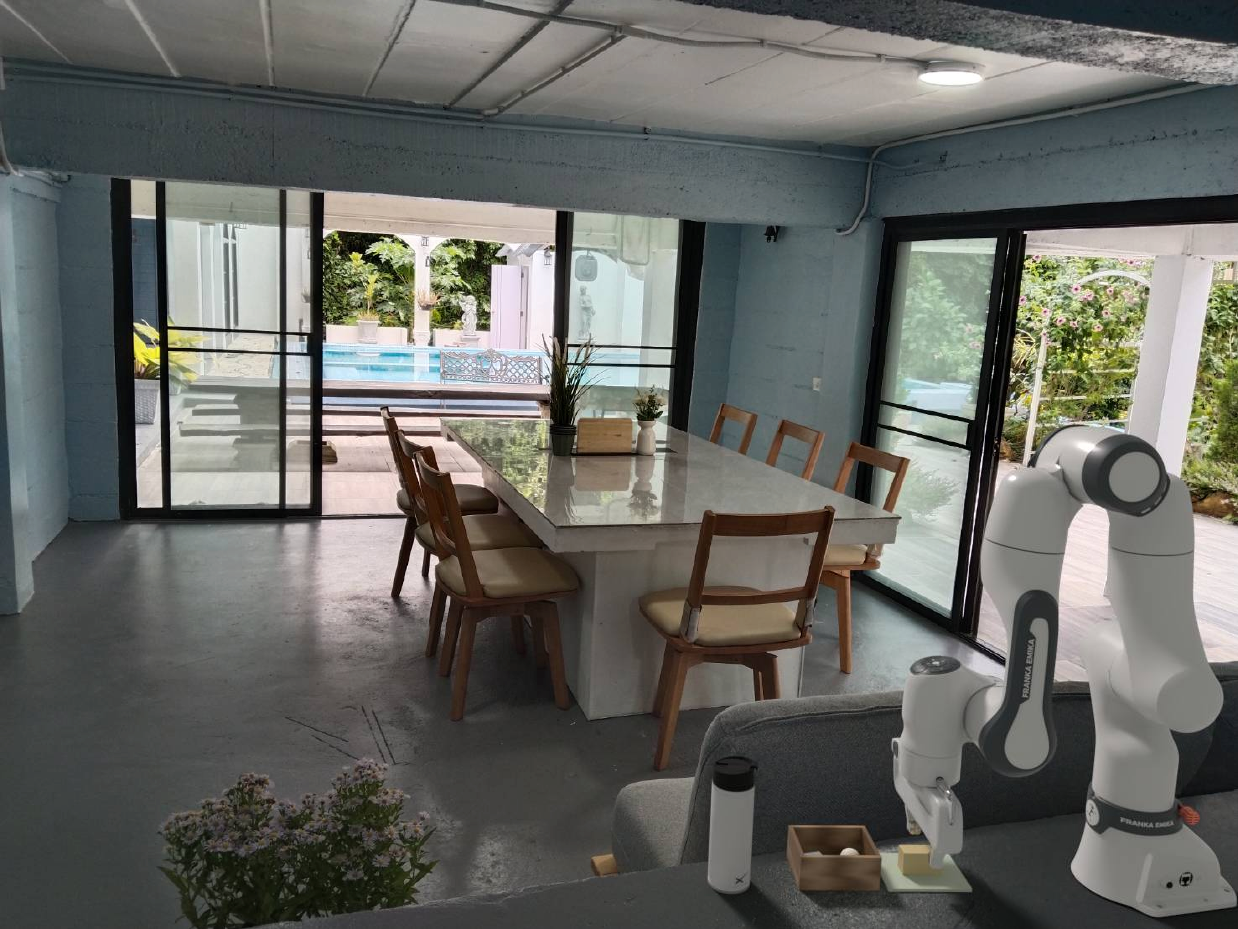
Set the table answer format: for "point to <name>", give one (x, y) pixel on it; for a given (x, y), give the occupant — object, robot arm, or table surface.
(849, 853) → the cream ball
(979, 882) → the table surface
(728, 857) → the travel mug
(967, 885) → the lid
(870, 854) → the walnut box
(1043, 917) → the table surface
